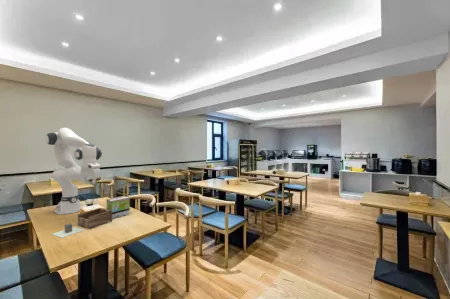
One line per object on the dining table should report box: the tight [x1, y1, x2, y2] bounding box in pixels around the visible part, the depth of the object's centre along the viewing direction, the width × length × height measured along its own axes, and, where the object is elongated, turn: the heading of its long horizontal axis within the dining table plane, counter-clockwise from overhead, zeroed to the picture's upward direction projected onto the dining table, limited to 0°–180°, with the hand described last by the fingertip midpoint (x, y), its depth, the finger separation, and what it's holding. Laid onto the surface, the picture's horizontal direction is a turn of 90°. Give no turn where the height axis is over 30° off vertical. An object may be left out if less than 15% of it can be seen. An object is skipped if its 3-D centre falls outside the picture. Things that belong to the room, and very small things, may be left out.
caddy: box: [77, 207, 113, 230], centre depth 152 cm, size 15×16×8 cm
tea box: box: [105, 195, 131, 220], centre depth 169 cm, size 15×10×15 cm, turn 143°
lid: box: [51, 223, 85, 239], centre depth 136 cm, size 13×13×6 cm
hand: (89, 182), depth 155 cm, fingers open, 8 cm apart
